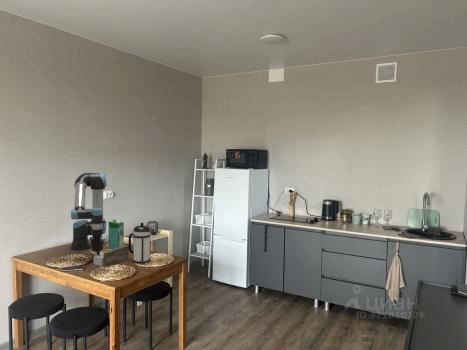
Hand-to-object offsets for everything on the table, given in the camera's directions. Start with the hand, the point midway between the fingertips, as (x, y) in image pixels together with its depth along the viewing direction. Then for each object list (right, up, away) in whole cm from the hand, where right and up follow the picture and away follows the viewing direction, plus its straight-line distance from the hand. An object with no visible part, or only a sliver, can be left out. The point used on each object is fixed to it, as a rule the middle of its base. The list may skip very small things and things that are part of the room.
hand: (97, 259), depth 262 cm
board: (+14, -2, +1) cm, 14 cm away
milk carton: (+3, 0, +34) cm, 34 cm away
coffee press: (+31, -2, +4) cm, 31 cm away
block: (+5, -2, -3) cm, 6 cm away
